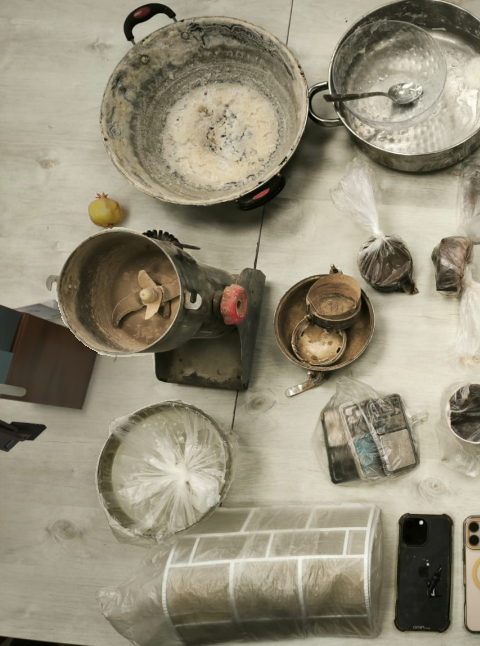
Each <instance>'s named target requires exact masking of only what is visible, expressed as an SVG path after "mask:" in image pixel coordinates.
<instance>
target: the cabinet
mask: <svg viewBox="0 0 480 646" xmlns="http://www.w3.org/2000/svg"><path fill="white" fill-rule="evenodd" d="M14 309H15V308H11V307H9V306H7V305H6V306H5V305H3V304H0V350H3V351H7V352H11V353H14V355H13V358H12V361H11V365H10V368H9V371H8V374H7V377H6V381H5V384H6V385H11V386H17V387H22V388H25V390H26V394H25V395H24V396H13V395H7V394H1V396H0V400H6V401H14V402H19V403H20V402H21V403H26V404H27V403H28V404H35V405H40V406H49V407H56V408H63V409H64V408H65V409H73V410H83V407H84V403H85V399H86V396H87V393H88V389H89V385H90V382H91V379H92V374H93V371H94V368H95V364H96V360H97V356H98V352H99V351H98V352H96V351H94V350H92V349H90V348H89V347H87V346H85V345H84V344H83V343H82V342H81V341H79V340H78V339H77V338H76V337H75V335H74V334H73V333H72V332H71V331H70V329H69V328H70V327H68V326H65V325H62V324H61V323H57V322H54V321H52V320H49V319H43V318H40V317H37V316H34V315H32V314H29V313H26V312H20V311H17V310H14Z"/></svg>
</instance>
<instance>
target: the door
mask: <svg viewBox="0 0 480 646" xmlns="http://www.w3.org/2000/svg"><path fill="white" fill-rule="evenodd" d="M13 355H14V353H11V352H7V351H3V350H0V396H1V394H7V395H13V396H24V395H25V394H26V390H25V388H22V387H17V386H11V385H6V384H5V381H6V377H7V374H8V371H9V368H10V365H11V361H12V358H13Z"/></svg>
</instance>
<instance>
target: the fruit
mask: <svg viewBox="0 0 480 646" xmlns="http://www.w3.org/2000/svg"><path fill="white" fill-rule="evenodd" d="M108 196H109V193H106V194H105V192H104V191H102V193H101V194H100V193H98V192H96V197H95V200H93V201H91V202H90V203H89V204H88V207H87V212H88V216H89V218H90V221H91V222H92V223H93V225H95V226H97V227H100V228H109V230H110V229H113V227H116V226H119V225H120V224H121V223H122V221H123V220H124V211H123V209H122V207H121V205H120V204H119V202H118V201H116V200H114V199H111V198H109V197H108Z"/></svg>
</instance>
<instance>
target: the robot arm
mask: <svg viewBox="0 0 480 646" xmlns="http://www.w3.org/2000/svg"><path fill="white" fill-rule="evenodd" d="M46 429H48V427H47V426H46V425H45V424H44V423H36V422H35V423H34V422H25V421H12V420H11V422H10V423H9V422H7V421H5V420H2V419H0V451H2V452H6V453H9V452H10V451H11V450H12V449H13V448H14V447H15V446H16V445H17V444H18V443H19V442H25V441H26V442H27V441H29V442H33V441H35V440H36V439H38V437H39V436H41V434H42V433H44V431H46Z"/></svg>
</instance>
